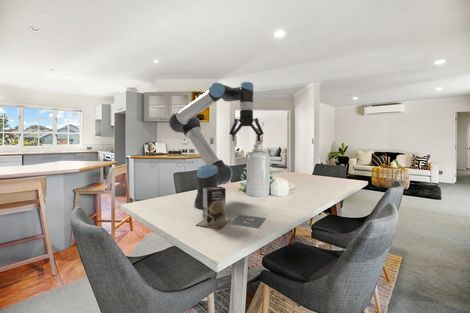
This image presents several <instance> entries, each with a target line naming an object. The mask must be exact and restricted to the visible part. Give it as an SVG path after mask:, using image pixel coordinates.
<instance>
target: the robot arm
mask: <svg viewBox="0 0 470 313" xmlns="http://www.w3.org/2000/svg"><path fill="white" fill-rule="evenodd" d="M221 99H222V100H223V102H228V103H229V102H235V101H236V102H237V101H239V109H240V111H239V118H234V120H233V121H234V122H233V124H232V127H231V128H230V131H229V134H228V135H231V137H232V138H231V139H232V142H233V147H234V148H236V147H237V143H238V142H237V139H238V138H237V134H238V132H239V131H240V130H241V129H242V128H243V127H251V129H252V130H253V132H254V133H255V134H256V136H255V147H256V148H259V142H260V141H261V136H262V135H264V131H263V129H262V126H261V124H260V123H259V118H257V117H256V118H254V111H253V110H254V83H253V82H249V81H243V82H241V83H240V85H239V86H237V87H232V86H228V85H225V84H223V83H221V82H216V81H215V82H212V83H211V84H210V85H209V87H208V90H207V91H205V93H203V94H201V95H200V96H198V97H197V98H196V99H195V100H193V101H192V102H190V103H189V104H188V105H186V106H185V107H183V108H182V109H181V110H180V109H179V110H176V111H175V112H174V113H173V114H171V116H170V117H169V120H168V124H169V127H170V129H171V130H172V131H173V132H175V133H182V134H183V135H184V136H185V138H186V139H188V140H190V142H191V143H192V144H193V146H194V147H195V149H196V151H197V152H198V154H199V155H200V157H201V159H202V160H203V162H204V163H205V165H201V166H199V167H198V168H197V173H196V177H197V182H196V183H197V185H196V187H197V189H196V190H197V191H196V192H197V193H196V197H195V200H194V208H196V209H199V210H203V188H207V187H219V186H221V185H225V184H227V183H229V182H230V181H231V180H232V179H233V173H234V172H233V168H232V167H231V166H230V165H228V164H225V162H224V160H222V159H220V158H218V156H217V155H216V153H215V152H214V149H213V148H212V147H211V146H210V143H208V141H207V140H206V138H205V136H204V135H203V133H202V132H201V131H202V128H201V125H202V124H201V122H200V119H199V118H197V115H199V114H200V113H202V112H203V111H205V110H206V109H208V108H209V107H210V106H212V105H213V104H215V103H216V102H218V101H219V100H221ZM253 122H254V123H255V124H256V127H257V128H256V127H255V125H254V123H253ZM238 123H239V124H238Z"/></svg>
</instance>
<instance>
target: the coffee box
mask: <svg viewBox="0 0 470 313" xmlns="http://www.w3.org/2000/svg"><path fill="white" fill-rule="evenodd" d="M226 195H227V194H226V188H225V187H222V186H221V185H218V186H217V187H207V188H203V209H202V220H203V222H204V223H205V224H206V225H212V224H218V223H224V222H225V219H226Z"/></svg>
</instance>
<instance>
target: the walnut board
mask: <svg viewBox="0 0 470 313" xmlns="http://www.w3.org/2000/svg"><path fill="white" fill-rule="evenodd" d="M231 222H232V220H231V219H229V218H225V222H224V223H218V224H212V225H206V224H205V223H204V222H203V219H202V220H200V221H199V222H198V223H196V224H195V226H196V227H201V228H206V229H207V228H208V229H214V230H219V231H221V229H223V228H225V227H226V226H227V224H228V223H229V224H230V223H231Z"/></svg>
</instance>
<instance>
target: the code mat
mask: <svg viewBox="0 0 470 313" xmlns="http://www.w3.org/2000/svg"><path fill="white" fill-rule="evenodd" d="M266 219H267V218H266V217H262V216H261V217H260V216H253V215H248V214H247V215H246V214H238V215H237V216H236V217H235V218H234V219H233V220H231V221H230V222H229V225H236V226H242V227H249V228H255V229H260V227H261V226H262V224H263V223H264V222H265V220H266Z"/></svg>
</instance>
